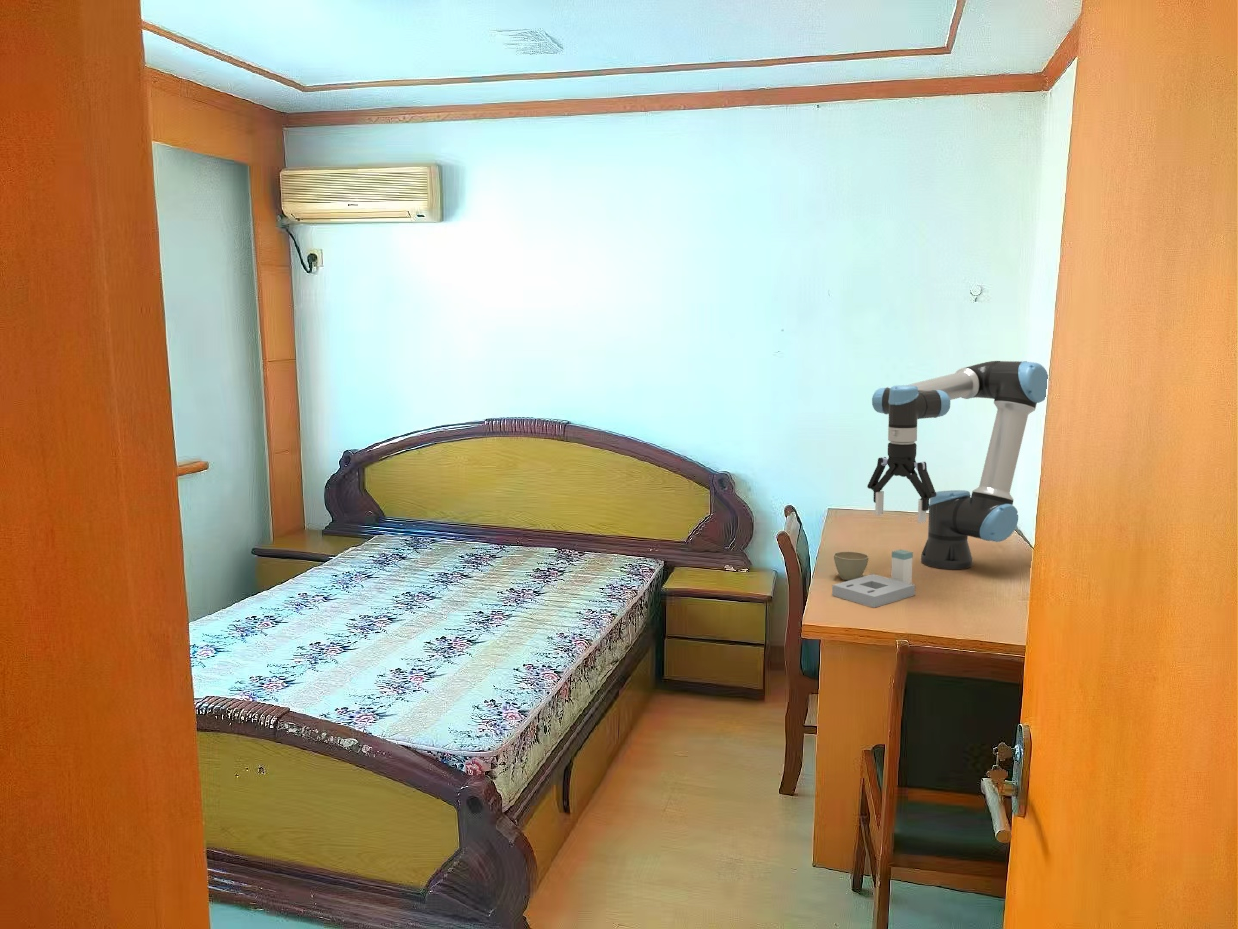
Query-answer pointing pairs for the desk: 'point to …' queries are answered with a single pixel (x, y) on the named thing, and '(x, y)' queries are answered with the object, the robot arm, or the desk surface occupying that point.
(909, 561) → the block
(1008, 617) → the desk surface
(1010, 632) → the desk surface
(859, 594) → the outlet plate
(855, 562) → the flower pot
